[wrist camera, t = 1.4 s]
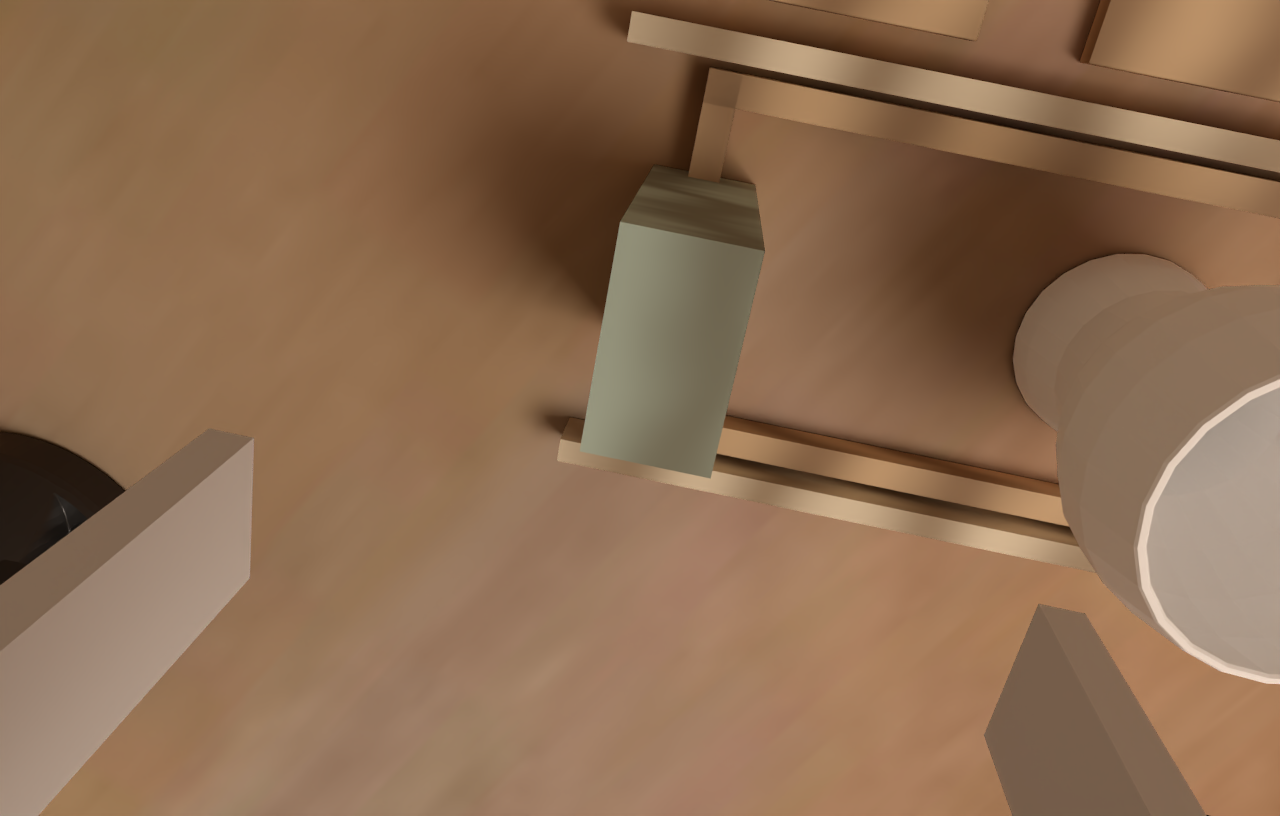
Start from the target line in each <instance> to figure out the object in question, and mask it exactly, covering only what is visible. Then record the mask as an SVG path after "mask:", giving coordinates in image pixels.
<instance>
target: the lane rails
mask: <svg viewBox="0 0 1280 816" xmlns="http://www.w3.org/2000/svg"><path fill="white" fill-rule="evenodd" d="M770 1H775V2H780V3H785V4H790V5H795V6H800V7H805V8H810V9H815V10H820V11H825V12H830V13H835V14H840V15H845V16H850V17H855V18H860V19H865V20H870V21H875V22H880V23H885V24H890V25H895V26H900V27H905V28H910V29H915V30H920V31H925V32H930V33H935V34H940V35H945V36H950V37H955V38H960V39H965V40H970V41H977V38H978V35H979V32H980V28H981V25H982V22H983V18H984V15H985V12H986V8H987V5H988V2H989V0H770ZM627 42H632V43H637V44H642V45H647V46H652V47H657V48H662V49H667V50H672V51H677V52H682V53H687V54H692V55H697V56H701V57H706V58H711V59H716V60H721V61H726V62H731V63H736V64H741V65H746V66H751V67H756V68H761V69H766V70H771V71H776V72H781V73H786V74H791V75H796V76H801V77H806V78H811V79H816V80H821V81H826V82H831V83H836V84H841V85H846V86H851V87H856V88H861V89H866V90H871V91H876V92H881V93H886V94H891V95H896V96H901V97H906V98H911V99H916V100H921V101H926V102H931V103H936V104H941V105H946V106H951V107H956V108H961V109H965V110H970V111H975V112H980V113H985V114H990V115H995V116H1000V117H1005V118H1010V119H1015V120H1020V121H1025V122H1030V123H1035V124H1040V125H1045V126H1050V127H1055V128H1060V129H1065V130H1070V131H1075V132H1080V133H1085V134H1090V135H1095V136H1100V137H1105V138H1110V139H1115V140H1120V141H1125V142H1130V143H1135V144H1140V145H1145V146H1150V147H1155V148H1160V149H1165V150H1170V151H1175V152H1180V153H1185V154H1190V155H1195V156H1200V157H1205V158H1210V159H1215V160H1220V161H1225V162H1229V163H1234V164H1239V165H1244V166H1249V167H1254V168H1259V169H1264V170H1269V171H1274V172H1279V173H1280V141H1279V140H1274V139H1269V138H1264V137H1259V136H1254V135H1249V134H1244V133H1239V132H1234V131H1229V130H1224V129H1219V128H1214V127H1209V126H1204V125H1199V124H1194V123H1189V122H1184V121H1179V120H1174V119H1169V118H1164V117H1159V116H1154V115H1149V114H1144V113H1139V112H1134V111H1129V110H1124V109H1119V108H1114V107H1109V106H1104V105H1099V104H1095V103H1090V102H1085V101H1080V100H1075V99H1070V98H1065V97H1060V96H1055V95H1050V94H1045V93H1040V92H1035V91H1030V90H1025V89H1020V88H1015V87H1010V86H1005V85H1000V84H995V83H990V82H985V81H980V80H975V79H970V78H965V77H960V76H955V75H950V74H945V73H940V72H935V71H930V70H925V69H920V68H915V67H910V66H905V65H900V64H895V63H890V62H885V61H880V60H875V59H870V58H865V57H860V56H855V55H850V54H845V53H840V52H835V51H830V50H825V49H820V48H815V47H810V46H805V45H800V44H795V43H790V42H785V41H780V40H775V39H770V38H765V37H760V36H755V35H750V34H745V33H740V32H735V31H730V30H725V29H720V28H715V27H710V26H705V25H700V24H695V23H690V22H685V21H680V20H675V19H670V18H665V17H660V16H655V15H650V14H645V13H640V12H635V11H632V14H631V20H630V26H629V32H628V38H627ZM1080 63H1085V64H1090V65H1095V66H1100V67H1105V68H1110V69H1115V70H1120V71H1125V72H1130V73H1135V74H1140V75H1145V76H1150V77H1155V78H1160V79H1165V80H1170V81H1175V82H1180V83H1185V84H1191V85H1196V86H1201V87H1206V88H1211V89H1216V90H1221V91H1226V92H1231V93H1236V94H1241V95H1246V96H1251V97H1256V98H1261V99H1266V100H1271V101H1276V102H1280V0H1101V1H1100V4H1099V7H1098V10H1097V12H1096V15H1095V18H1094V21H1093V24H1092V27H1091V30H1090V33H1089V36H1088V39H1087V42H1086V44H1085V47H1084V50H1083V53H1082V56H1081V59H1080ZM584 423H585V420H582V419H577V418H572V417H570V418H569V420H568V423H567V425H566V427H565V430H564V432H563V434H562V437H561V439H560V445H559V451H558V457H557V461H561V462H566V463H571V464H575V465H580V466H585V467H590V468H595V469H599V470H604V471H609V472H614V473H619V474H623V475H628V476H633V477H638V478H643V479H647V480H652V481H657V482H662V483H667V484H671V485H676V486H681V487H686V488H691V489H695V490H700V491H705V492H710V493H715V494H719V495H724V496H729V497H734V498H739V499H743V500H748V501H753V502H758V503H763V504H768V505H772V506H777V507H782V508H787V509H792V510H796V511H801V512H806V513H811V514H816V515H820V516H825V517H830V518H835V519H840V520H844V521H849V522H854V523H859V524H864V525H868V526H873V527H878V528H883V529H888V530H892V531H897V532H902V533H907V534H912V535H916V536H921V537H926V538H931V539H936V540H940V541H945V542H950V543H955V544H960V545H964V546H969V547H974V548H979V549H984V550H988V551H993V552H998V553H1003V554H1008V555H1012V556H1017V557H1022V558H1027V559H1032V560H1036V561H1041V562H1046V563H1051V564H1056V565H1060V566H1065V567H1070V568H1075V569H1080V570H1084V571H1089V572H1094V573H1096V571H1095V570H1094V568H1093V567H1092V565H1091V564H1090V562H1089V561H1088V559H1087V558H1086V556H1085V555H1084V553H1083V552H1082V550H1081V549H1080V547H1079V545H1078V543H1077V541H1076V539H1075V537H1074V535H1073V533H1072V531H1071V529H1070V527H1069V526H1064V525H1059V524H1054V523H1049V522H1045V521H1040V520H1035V519H1030V518H1025V517H1021V516H1016V515H1011V514H1006V513H1001V512H996V511H992V510H987V509H982V508H977V507H972V506H968V505H963V504H958V503H953V502H948V501H943V500H939V499H934V498H929V497H924V496H919V495H914V494H910V493H905V492H900V491H895V490H890V489H886V488H881V487H876V486H871V485H866V484H861V483H857V482H852V481H847V480H842V479H837V478H833V477H828V476H823V475H818V474H813V473H808V472H804V471H799V470H794V469H789V468H784V467H780V466H775V465H770V464H765V463H760V462H755V461H751V460H746V459H741V458H736V457H731V456H727V455H722V454H716V458H715V462H714V466H713V470H712V475H711V479H710V478H706V477H701V476H696V475H691V474H686V473H682V472H677V471H672V470H667V469H662V468H658V467H653V466H648V465H643V464H638V463H634V462H629V461H624V460H619V459H614V458H610V457H605V456H600V455H595V454H590V453H585V452H581V451H580V446H581V440H582V435H583V429H584Z"/></svg>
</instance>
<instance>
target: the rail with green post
mask: <svg viewBox="0 0 1280 816" xmlns="http://www.w3.org/2000/svg"><path fill="white" fill-rule="evenodd" d="M735 109H738V110H743V111H748V112H753V113H758V114H763V115H768V116H773V117H778V118H783V119H788V120H793V121H798V122H803V123H808V124H813V125H818V126H823V127H828V128H833V129H837V130H842V131H847V132H852V133H857V134H862V135H867V136H872V137H877V138H882V139H887V140H892V141H897V142H902V143H907V144H912V145H917V146H922V147H927V148H932V149H937V150H942V151H947V152H952V153H957V154H962V155H966V156H971V157H976V158H981V159H986V160H991V161H996V162H1001V163H1006V164H1011V165H1016V166H1021V167H1026V168H1031V169H1036V170H1041V171H1046V172H1051V173H1056V174H1061V175H1066V176H1071V177H1076V178H1081V179H1086V180H1091V181H1095V182H1100V183H1105V184H1110V185H1115V186H1120V187H1125V188H1130V189H1135V190H1140V191H1145V192H1150V193H1155V194H1160V195H1165V196H1170V197H1175V198H1180V199H1185V200H1190V201H1195V202H1200V203H1205V204H1210V205H1215V206H1220V207H1225V208H1229V209H1234V210H1239V211H1244V212H1249V213H1254V214H1259V215H1264V216H1269V217H1274V218H1279V219H1280V181H1277V180H1272V179H1267V178H1262V177H1257V176H1252V175H1247V174H1242V173H1237V172H1232V171H1228V170H1223V169H1218V168H1213V167H1208V166H1203V165H1198V164H1193V163H1188V162H1183V161H1178V160H1173V159H1168V158H1163V157H1158V156H1153V155H1148V154H1143V153H1138V152H1133V151H1128V150H1123V149H1118V148H1113V147H1108V146H1103V145H1098V144H1093V143H1088V142H1083V141H1078V140H1073V139H1068V138H1063V137H1058V136H1053V135H1048V134H1043V133H1038V132H1033V131H1028V130H1023V129H1018V128H1013V127H1008V126H1004V125H999V124H994V123H989V122H984V121H979V120H974V119H969V118H964V117H959V116H954V115H949V114H944V113H939V112H934V111H929V110H924V109H919V108H914V107H909V106H904V105H899V104H894V103H889V102H884V101H879V100H874V99H869V98H864V97H859V96H854V95H849V94H844V93H839V92H834V91H829V90H824V89H819V88H814V87H809V86H804V85H799V84H794V83H789V82H784V81H780V80H775V79H770V78H765V77H760V76H755V75H750V74H745V73H740V72H735V71H730V70H725V69H720V68H715V67H710V70H709V75H708V80H707V85H706V90H705V95H704V100H703V104H702V109H701V114H700V119H699V124H698V129H697V134H696V139H695V144H694V149H693V154H692V159H691V164H690V169H689V171H685V170H680V169H675V168H670V167H665V166H660V165H655V164H654V166H653V167H652V169H651V171H650V172H649V174H648V176H647V177H646V179H645V181H644V183H643V184H642V186H641V188H640V189H639V191H638V193H637V194H636V196H635V198H634V199H633V201H632V203H631V204H630V206H629V208H628V209H627V211H626V213H625V214H624V216H623V218H622V219H621V221H620V225H619V231H618V237H617V242H616V248H615V254H614V259H613V265H612V271H611V276H610V282H609V288H608V293H607V299H606V305H605V310H604V316H603V322H602V327H601V333H600V339H599V344H598V350H597V356H596V361H595V367H594V373H593V378H592V384H591V389H590V395H589V401H588V406H587V412H586V418H585V423H584V429H583V435H582V440H581V446H580V451H581V452H585V453H590V454H595V455H600V456H605V457H610V458H614V459H619V460H624V461H629V462H634V463H638V464H643V465H648V466H653V467H658V468H662V469H667V470H672V471H677V472H682V473H686V474H691V475H696V476H701V477H706V478H710V479H711V475H712V470H713V466H714V462H715V458H716V454H722V455H727V456H731V457H736V458H741V459H746V460H751V461H755V462H760V463H765V464H770V465H775V466H780V467H784V468H789V469H794V470H799V471H804V472H808V473H813V474H818V475H823V476H828V477H833V478H837V479H842V480H847V481H852V482H857V483H861V484H866V485H871V486H876V487H881V488H886V489H890V490H895V491H900V492H905V493H910V494H914V495H919V496H924V497H929V498H934V499H939V500H943V501H948V502H953V503H958V504H963V505H968V506H972V507H977V508H982V509H987V510H992V511H996V512H1001V513H1006V514H1011V515H1016V516H1021V517H1025V518H1030V519H1035V520H1040V521H1045V522H1049V523H1054V524H1059V525H1064V526H1069V525H1068V523H1067V521H1066V519H1065V517H1064V514H1063V509H1062V502H1061V495H1060V488H1059V484H1055V483H1050V482H1045V481H1040V480H1035V479H1030V478H1026V477H1021V476H1016V475H1011V474H1006V473H1001V472H997V471H992V470H987V469H982V468H977V467H972V466H968V465H963V464H958V463H953V462H948V461H943V460H939V459H934V458H929V457H924V456H919V455H914V454H909V453H905V452H900V451H895V450H890V449H885V448H880V447H876V446H871V445H866V444H861V443H856V442H851V441H847V440H842V439H837V438H832V437H827V436H822V435H818V434H813V433H808V432H803V431H798V430H793V429H789V428H784V427H779V426H774V425H769V424H764V423H760V422H755V421H750V420H745V419H740V418H735V417H731V416H726V412H727V408H728V403H729V399H730V395H731V391H732V387H733V383H734V378H735V374H736V370H737V366H738V362H739V357H740V353H741V349H742V345H743V341H744V337H745V332H746V328H747V324H748V320H749V316H750V312H751V307H752V303H753V299H754V295H755V291H756V286H757V282H758V278H759V274H760V270H761V266H762V261H763V257H764V253H765V248H764V241H763V235H762V228H761V221H760V214H759V207H758V200H757V194H756V187H755V185H754V184H749V183H744V182H739V181H734V180H729V179H724V178H721V173H722V168H723V164H724V159H725V154H726V150H727V145H728V140H729V136H730V131H731V126H732V122H733V117H734V112H735Z"/></svg>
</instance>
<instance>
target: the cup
mask: <svg viewBox="0 0 1280 816" xmlns="http://www.w3.org/2000/svg"><path fill="white" fill-rule="evenodd" d="M1013 365H1014V372H1015V378H1016V383H1017V385H1018V387H1019V390H1020V392H1021V394H1022V396H1023V398H1024V400H1025V402H1026V403H1027V405H1028V406H1029V407H1030V408H1031V409H1032V410H1033V411H1034V412H1035V413H1036V414H1037V415H1038V416H1039V417H1040V418H1041V419H1042V420H1043V421H1044V422H1045V423H1047V424H1048V425H1049V426H1051V427H1052V428H1053V429H1054V430H1056V431H1058V434H1057V440H1056V456H1057V473H1058V481H1059V488H1060V495H1061V502H1062V509H1063V514H1064V517H1065V519H1066V521H1067V523H1068V525H1069V527H1070V529H1071V531H1072V533H1073V535H1074V537H1075V539H1076V541H1077V543H1078V545H1079V547H1080V549H1081V550H1082V552H1083V553H1084V555H1085V556H1086V558H1087V559H1088V561H1089V562H1090V564H1091V565H1092V567H1093V568H1094V570H1095V571H1096V573H1097V574H1098V576H1099V578H1100V579H1101V581H1102V582H1103V583H1104V584H1105V585H1106V586H1107V588H1108V589H1109V590H1110V591H1111V592H1112V593H1113V594H1114V595H1115V596H1116V597H1117V598H1118V599H1119V600H1120V601H1121V602H1122V603H1123V604H1124V605H1125V606H1126V607H1127V608H1128V609H1129V610H1130V611H1131V612H1132V613H1133V614H1135V615H1136V616H1137V617H1139V618H1140V619H1141V620H1143V621H1144V622H1145V623H1147V624H1148V625H1149V626H1151V627H1152V628H1153V629H1155V630H1156V631H1157V632H1159V633H1160V634H1161V635H1163V636H1164V637H1165V638H1167V639H1168V640H1169V641H1171V642H1172V643H1173V644H1175V645H1176V646H1178V647H1179V648H1180V649H1182V650H1183V651H1185V652H1186V653H1188V654H1190V655H1192V656H1194V657H1195V658H1197V659H1199V660H1201V661H1203V662H1204V663H1206V664H1208V665H1210V666H1211V667H1213V668H1215V669H1217V670H1219V671H1221V672H1225V673H1229V674H1232V675H1236V676H1240V677H1244V678H1247V679H1251V680H1255V681H1259V682H1262V683H1268V684H1280V285H1251V286H1224V287H1217V288H1213V289H1209V290H1208V289H1207V288H1206V287H1205V286H1204V285H1203V284H1202V283H1201V282H1200V281H1199V280H1198V279H1197V278H1195V277H1194V276H1193V275H1192V274H1191V273H1189V272H1187V271H1186V270H1184V269H1182V268H1181V267H1179V266H1178V265H1176V264H1174V263H1173V262H1171V261H1169V260H1165V259H1161V258H1157V257H1154V256H1150V255H1146V254H1115V255H1111V256H1107V257H1102V258H1098V259H1094V260H1090V261H1088V262H1086V263H1084V264H1082V265H1080V266H1078V267H1076V268H1074V269H1072V270H1070V271H1068V272H1066V273H1064V274H1063V275H1061V276H1060V277H1059V278H1058V279H1057V280H1055V281H1054V282H1053V283H1052V284H1050V285H1049V286H1048V287H1047V288H1046V289H1044V290H1043V291H1042V292H1041V294H1040V295H1039V296H1038V298H1037V299H1036V300H1035V302H1034V303H1033V304H1032V305H1031V307H1030V308H1029V309H1028V311H1027V312H1026V314H1025V316H1024V319H1023V321H1022V323H1021V326H1020V328H1019V330H1018V333H1017V335H1016V340H1015V347H1014V354H1013Z"/></svg>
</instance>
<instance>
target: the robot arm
mask: <svg viewBox="0 0 1280 816" xmlns="http://www.w3.org/2000/svg"><path fill="white" fill-rule="evenodd" d="M253 453H254V438H252V437H247V436H242V435H237V434H233V433H228V432H223V431H218V430H214V429H208V430H206V431H205V432H204V433H202V434H201V435H200V436H198V437H197V438H196V439H194V440H193V441H192V442H190V443H189V444H188V445H186V446H185V447H184V448H182V449H181V450H180V451H178V452H177V453H176V454H174V455H173V456H172V457H170V458H169V459H168V460H166V461H165V462H164V463H162V464H161V465H160V466H158V467H157V468H156V469H154V470H153V471H152V472H150V473H149V474H148V475H146V476H145V477H144V478H142V479H141V480H140V481H138V482H137V483H136V484H134V485H133V486H132V487H130V488H129V489H128V490H126V491H124V490H123V489H122V488H120V487H119V486H118V485H117V484H116V483H115V482H114V481H112V480H111V479H110V478H109V477H107V476H106V475H105V474H104V473H102V472H101V471H100V470H98V469H97V468H95V467H94V466H92V465H91V464H89V463H87V462H86V461H84V460H82V459H81V458H79V457H77V456H75V455H73V454H72V453H70V452H68V451H66V450H63V449H61V448H59V447H57V446H54V445H52V444H49V443H46V442H44V441H40V440H37V439H34V438H30V437H26V436H22V435H17V434H12V433H4V432H0V816H38V815H39V814H40V813H41V812H42V811H43V810H44V809H45V807H46V806H47V805H48V804H49V803H50V802H51V801H52V800H53V798H54V797H55V796H56V795H57V794H58V793H59V792H60V791H61V789H62V788H63V787H64V786H65V785H66V784H67V783H68V782H69V780H70V779H71V778H72V777H73V776H74V775H75V774H76V773H77V771H78V770H79V769H80V768H81V767H82V766H83V765H84V764H85V762H86V761H87V760H88V759H89V758H90V757H91V756H92V755H93V754H94V752H95V751H96V750H97V749H98V748H99V747H100V746H101V745H102V743H103V742H104V741H105V740H106V739H107V738H108V737H109V736H110V734H111V733H112V732H113V731H114V730H115V729H116V728H117V727H118V725H119V724H120V723H121V722H122V721H123V720H124V719H125V718H126V716H127V715H128V714H129V713H130V712H131V711H132V710H133V709H134V707H135V706H136V705H137V704H138V703H139V702H140V701H141V700H142V698H143V697H144V696H145V695H146V694H147V693H148V692H149V691H150V690H151V688H152V687H153V686H154V685H155V684H156V683H157V682H158V681H159V679H160V678H161V677H162V676H163V675H164V674H165V673H166V672H167V670H168V669H169V668H170V667H171V666H172V665H173V664H174V663H175V661H176V660H177V659H178V658H179V657H180V656H181V655H182V654H183V652H184V651H185V650H186V649H187V648H188V647H189V646H190V645H191V643H192V642H193V641H194V640H195V639H196V638H197V637H198V636H199V635H200V633H201V632H202V631H203V630H204V629H205V628H206V627H207V626H208V624H209V623H210V622H211V621H212V620H213V619H214V618H215V617H216V615H217V614H218V613H219V612H220V611H221V610H222V609H223V608H224V606H225V605H226V604H227V603H228V602H229V601H230V600H231V599H232V597H233V596H234V595H235V594H236V593H237V592H238V591H239V590H240V588H241V587H242V586H243V585H244V584H245V583H246V582H247V581H248V579H249V578H250V556H251V522H252V487H253ZM984 737H985V739H986V742H987V745H988V748H989V751H990V754H991V756H992V759H993V762H994V765H995V768H996V771H997V773H998V776H999V779H1000V782H1001V785H1002V788H1003V790H1004V793H1005V796H1006V799H1007V802H1008V805H1009V807H1010V810H1011V813H1012V816H1209V815H1206V814H1205V812H1204V810H1203V809H1202V807H1201V805H1200V804H1199V802H1198V801H1197V799H1196V797H1195V796H1194V794H1193V792H1192V791H1191V789H1190V787H1189V786H1188V784H1187V782H1186V781H1185V779H1184V777H1183V776H1182V774H1181V772H1180V771H1179V769H1178V767H1177V766H1176V764H1175V762H1174V761H1173V759H1172V757H1171V756H1170V754H1169V752H1168V751H1167V749H1166V747H1165V746H1164V744H1163V742H1162V741H1161V739H1160V737H1159V736H1158V734H1157V732H1156V731H1155V729H1154V727H1153V726H1152V724H1151V722H1150V721H1149V719H1148V717H1147V716H1146V714H1145V712H1144V711H1143V709H1142V707H1141V706H1140V704H1139V702H1138V701H1137V699H1136V697H1135V696H1134V694H1133V692H1132V691H1131V689H1130V687H1129V686H1128V684H1127V682H1126V681H1125V679H1124V677H1123V676H1122V674H1121V672H1120V671H1119V669H1118V667H1117V666H1116V664H1115V662H1114V661H1113V659H1112V657H1111V656H1110V654H1109V652H1108V651H1107V649H1106V647H1105V646H1104V644H1103V642H1102V641H1101V639H1100V637H1099V636H1098V634H1097V633H1096V631H1095V629H1094V628H1093V626H1092V624H1091V623H1090V621H1089V619H1088V618H1087V616H1086V614H1084V613H1080V612H1075V611H1070V610H1065V609H1061V608H1056V607H1051V606H1047V605H1042V604H1038V607H1037V609H1036V611H1035V614H1034V616H1033V619H1032V621H1031V623H1030V626H1029V628H1028V631H1027V633H1026V635H1025V638H1024V640H1023V643H1022V645H1021V647H1020V650H1019V652H1018V655H1017V657H1016V659H1015V662H1014V664H1013V667H1012V669H1011V671H1010V674H1009V676H1008V679H1007V681H1006V683H1005V686H1004V688H1003V691H1002V693H1001V695H1000V698H999V700H998V703H997V705H996V707H995V710H994V712H993V715H992V717H991V720H990V722H989V724H988V727H987V729H986V732H985V734H984Z"/></svg>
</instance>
